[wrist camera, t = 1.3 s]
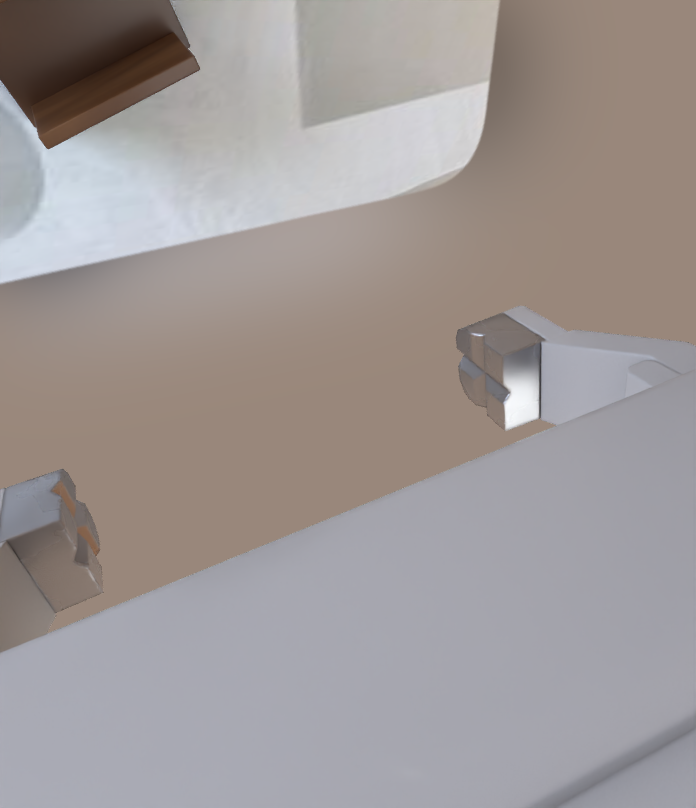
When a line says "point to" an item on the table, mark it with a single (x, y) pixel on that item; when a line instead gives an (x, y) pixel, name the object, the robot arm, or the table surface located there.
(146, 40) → the plate rack
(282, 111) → the table surface
